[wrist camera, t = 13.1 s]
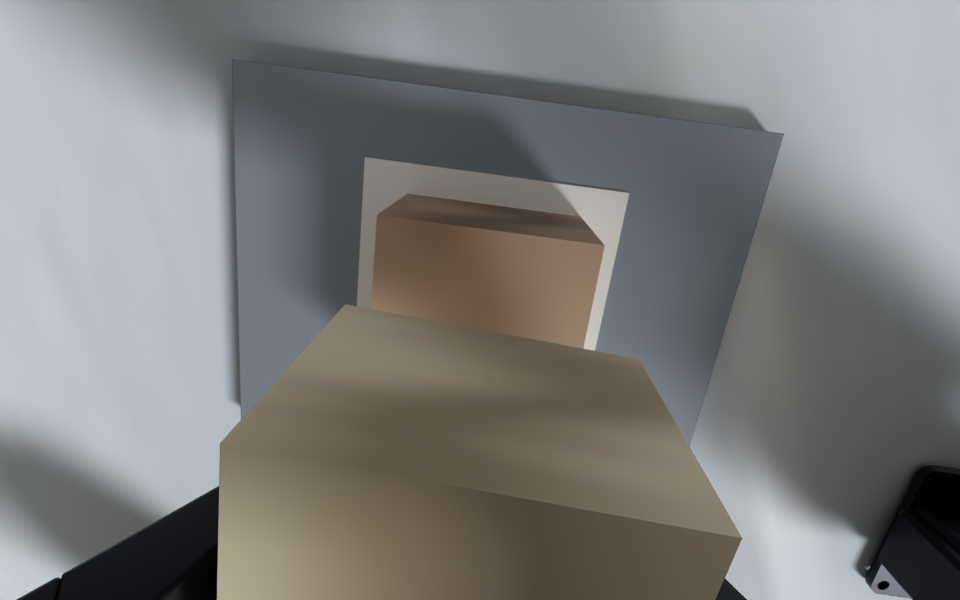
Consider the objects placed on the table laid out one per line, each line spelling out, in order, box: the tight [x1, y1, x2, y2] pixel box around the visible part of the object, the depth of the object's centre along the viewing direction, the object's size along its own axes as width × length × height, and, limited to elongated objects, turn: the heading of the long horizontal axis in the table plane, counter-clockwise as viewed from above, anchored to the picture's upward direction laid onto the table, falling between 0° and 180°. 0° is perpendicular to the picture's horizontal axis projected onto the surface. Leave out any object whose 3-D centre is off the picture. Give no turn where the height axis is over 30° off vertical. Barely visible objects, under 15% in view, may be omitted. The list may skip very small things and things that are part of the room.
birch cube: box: [217, 304, 742, 600], centre depth 8 cm, size 5×5×4 cm
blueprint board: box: [232, 59, 784, 446], centre depth 19 cm, size 18×14×1 cm
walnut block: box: [371, 194, 605, 348], centre depth 17 cm, size 6×7×4 cm
